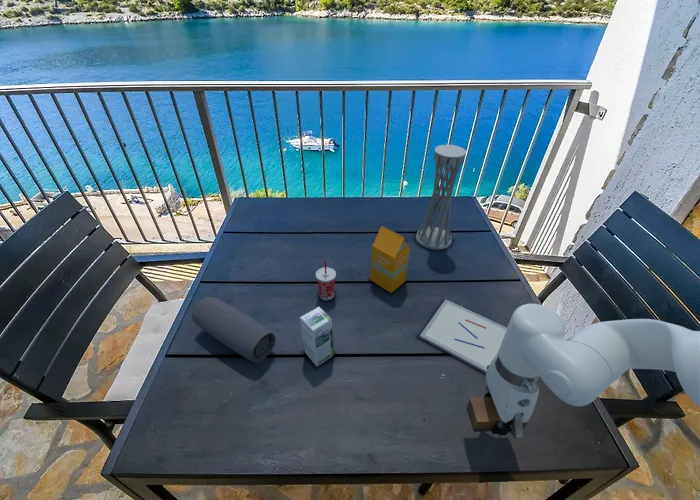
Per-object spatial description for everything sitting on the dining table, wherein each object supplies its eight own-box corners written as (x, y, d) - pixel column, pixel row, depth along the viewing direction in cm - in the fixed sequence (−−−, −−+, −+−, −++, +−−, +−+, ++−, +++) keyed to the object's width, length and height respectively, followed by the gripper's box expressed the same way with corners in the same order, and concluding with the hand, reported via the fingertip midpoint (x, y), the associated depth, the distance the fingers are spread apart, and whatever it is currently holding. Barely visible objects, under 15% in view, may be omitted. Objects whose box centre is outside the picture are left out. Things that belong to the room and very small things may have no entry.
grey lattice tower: (449, 252, 126) (471, 161, 104) (413, 245, 129) (426, 156, 107) (453, 232, 136) (473, 145, 114) (418, 226, 139) (432, 140, 117)
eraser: (523, 430, 70) (529, 420, 67) (473, 432, 70) (477, 422, 67) (513, 406, 74) (518, 395, 71) (466, 408, 74) (469, 397, 71)
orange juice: (391, 293, 110) (396, 243, 97) (370, 280, 115) (372, 230, 102) (405, 281, 114) (412, 231, 102) (385, 268, 119) (389, 219, 107)
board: (518, 335, 97) (519, 333, 96) (498, 380, 86) (500, 378, 86) (444, 301, 107) (445, 299, 107) (419, 337, 96) (419, 335, 96)
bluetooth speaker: (279, 347, 94) (274, 323, 88) (254, 373, 88) (247, 349, 82) (222, 312, 104) (214, 288, 97) (196, 333, 97) (185, 309, 91)
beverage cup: (313, 298, 108) (310, 264, 99) (323, 285, 112) (320, 252, 104) (331, 304, 106) (329, 270, 97) (340, 291, 110) (339, 257, 102)
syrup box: (316, 367, 89) (313, 331, 80) (303, 352, 93) (299, 316, 84) (334, 355, 92) (332, 319, 83) (321, 341, 96) (318, 305, 86)
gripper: (565, 411, 54) (530, 462, 65) (519, 326, 67) (497, 380, 78) (517, 413, 54) (490, 464, 65) (481, 327, 67) (463, 381, 78)
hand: (494, 417), depth 71 cm, fingers closed on eraser, 5 cm apart
